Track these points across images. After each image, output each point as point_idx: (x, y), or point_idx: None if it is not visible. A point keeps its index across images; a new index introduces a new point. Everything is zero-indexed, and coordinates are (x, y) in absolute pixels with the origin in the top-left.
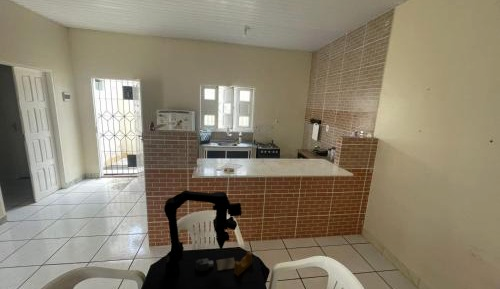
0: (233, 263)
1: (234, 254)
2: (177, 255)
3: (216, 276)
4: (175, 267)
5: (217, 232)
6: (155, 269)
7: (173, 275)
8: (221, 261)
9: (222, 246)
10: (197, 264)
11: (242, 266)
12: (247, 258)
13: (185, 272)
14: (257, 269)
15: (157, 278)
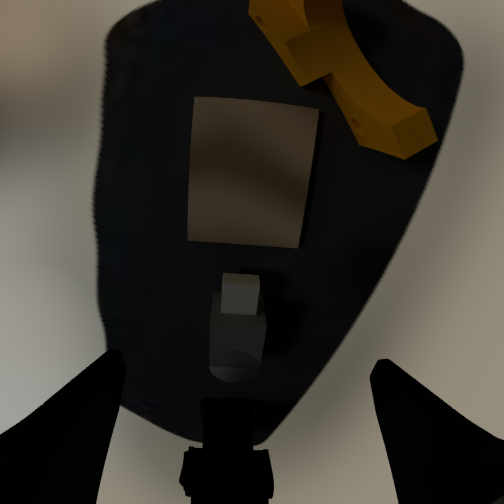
0: (268, 117)
1: (149, 81)
2: (269, 495)
3: (334, 261)
4: (249, 438)
5: (94, 462)
6: (196, 439)
7: (251, 414)
8: (214, 205)
9: (417, 389)
10: (253, 376)
11: (371, 78)
12: (324, 5)
13: (241, 383)
14: None
15: None
